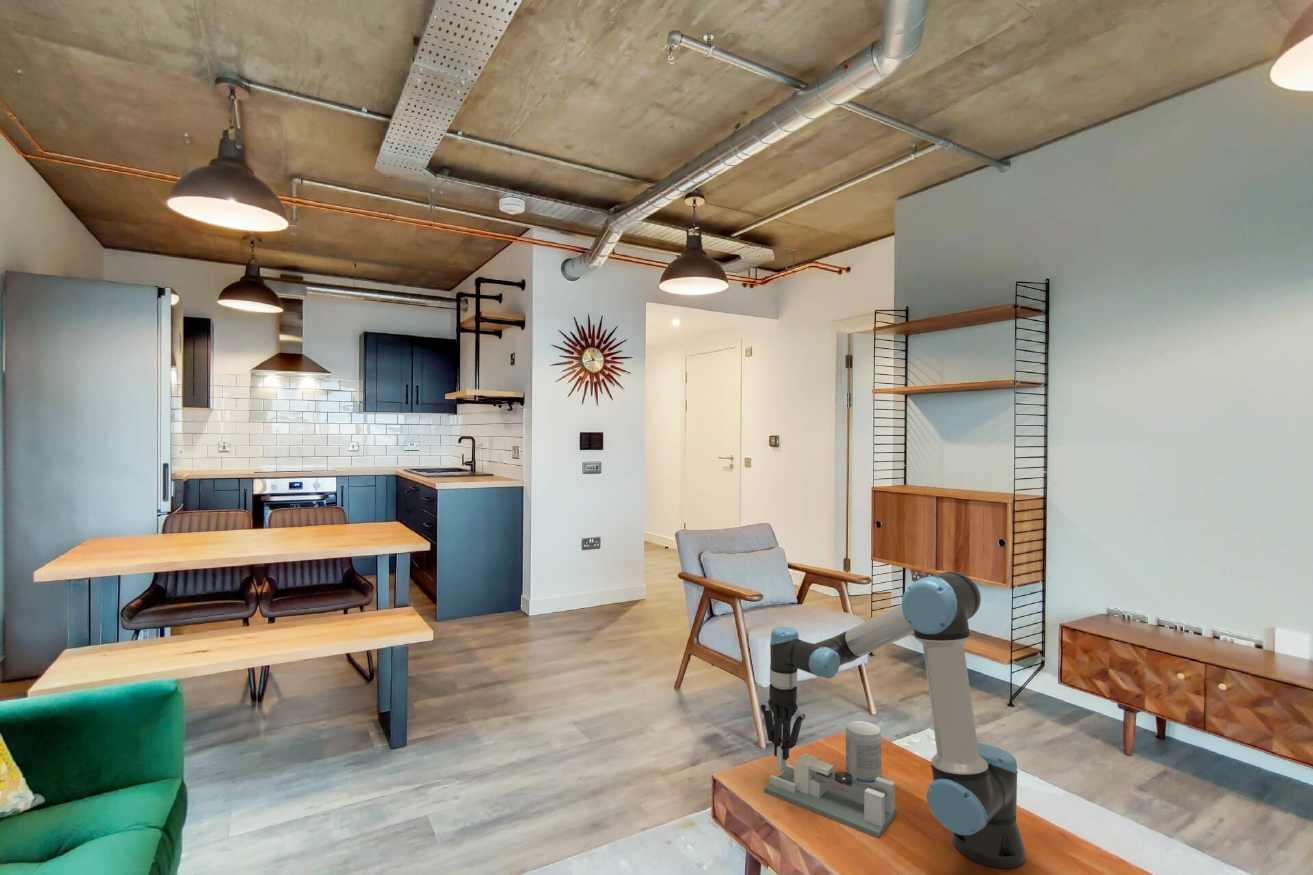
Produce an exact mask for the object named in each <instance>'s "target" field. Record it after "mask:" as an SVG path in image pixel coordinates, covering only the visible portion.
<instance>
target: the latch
mask: <svg viewBox="0 0 1313 875" xmlns="http://www.w3.org/2000/svg"><path fill="white" fill-rule="evenodd" d="M793 766H794V783H795V784H797V785H796V790H797V791H800V792H802V793H805V794H809V780H810V779H811V778H812V777H813V776H814V775H815V773H816V772H819V773H822V774H824V775H827V776H828V775H829V774H830V773H831V772H832V771H833V772H834V770H835V764H831V763H829V762H826V761H823V760H821V759H819V757H817V756H814V755H811V754H808V753H806V752H804V753H803V754H801V756H799V757H798V758H797V759H795V760H794V765H793Z"/></svg>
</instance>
